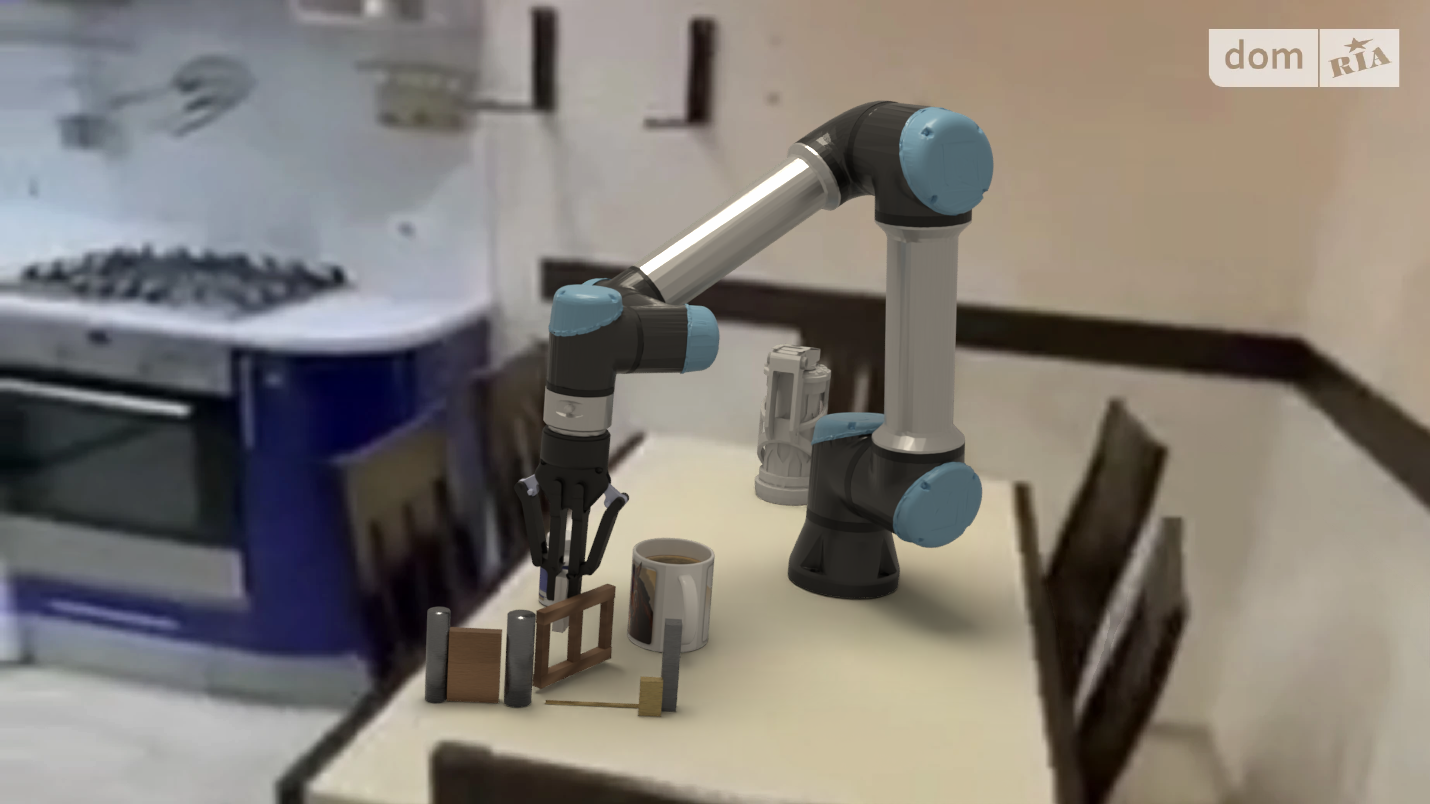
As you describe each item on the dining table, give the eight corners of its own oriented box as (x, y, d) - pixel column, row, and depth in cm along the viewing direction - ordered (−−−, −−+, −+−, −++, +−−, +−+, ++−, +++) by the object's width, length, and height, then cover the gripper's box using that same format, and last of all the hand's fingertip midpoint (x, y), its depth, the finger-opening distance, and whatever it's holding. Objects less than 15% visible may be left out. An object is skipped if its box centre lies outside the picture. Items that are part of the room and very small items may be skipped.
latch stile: (675, 704, 173) (681, 619, 171) (676, 717, 170) (683, 630, 168) (637, 703, 173) (643, 617, 170) (638, 715, 170) (644, 628, 167)
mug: (724, 632, 194) (731, 547, 192) (691, 667, 183) (698, 577, 180) (644, 616, 197) (650, 532, 195) (607, 650, 186) (612, 561, 184)
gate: (540, 689, 173) (544, 613, 171) (532, 685, 173) (536, 610, 171) (611, 658, 182) (615, 586, 180) (603, 655, 183) (607, 583, 181)
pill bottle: (573, 611, 197) (577, 544, 195) (533, 605, 198) (536, 538, 196) (585, 597, 202) (589, 531, 200) (545, 591, 203) (549, 525, 201)
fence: (656, 701, 173) (662, 616, 171) (656, 713, 171) (663, 626, 168) (426, 691, 172) (429, 605, 169) (423, 703, 169) (426, 615, 166)
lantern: (764, 482, 257) (777, 331, 251) (826, 493, 254) (841, 340, 248) (739, 503, 245) (752, 345, 239) (804, 514, 242) (818, 355, 236)
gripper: (509, 426, 171) (495, 630, 177) (624, 443, 169) (606, 649, 175) (531, 411, 179) (517, 607, 184) (642, 427, 176) (624, 625, 182)
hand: (560, 627), depth 179 cm, fingers closed
